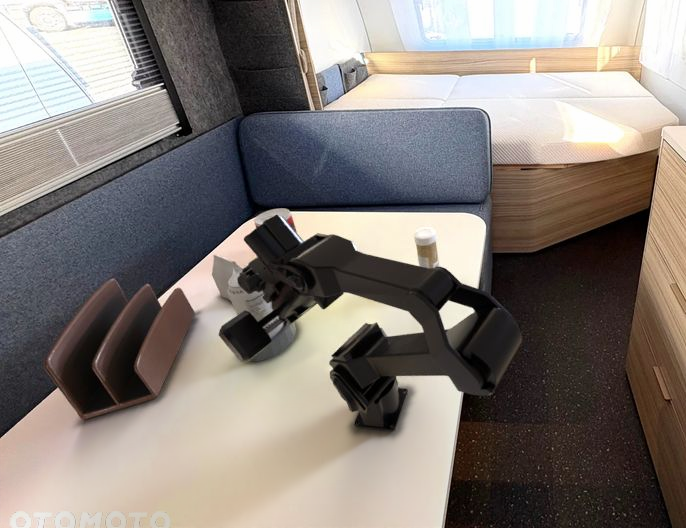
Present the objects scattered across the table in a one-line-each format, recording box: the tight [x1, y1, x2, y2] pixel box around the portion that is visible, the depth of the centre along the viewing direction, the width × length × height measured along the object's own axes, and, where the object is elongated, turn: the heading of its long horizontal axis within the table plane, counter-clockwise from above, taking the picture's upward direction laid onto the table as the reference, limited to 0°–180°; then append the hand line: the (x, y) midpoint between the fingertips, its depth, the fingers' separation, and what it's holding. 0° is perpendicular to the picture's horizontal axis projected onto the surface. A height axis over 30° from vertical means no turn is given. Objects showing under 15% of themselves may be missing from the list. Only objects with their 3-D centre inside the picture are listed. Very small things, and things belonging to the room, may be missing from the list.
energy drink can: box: [228, 271, 285, 339], centre depth 70 cm, size 6×6×15 cm
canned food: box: [253, 207, 298, 234], centre depth 96 cm, size 8×8×11 cm
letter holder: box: [43, 278, 196, 421], centre depth 67 cm, size 10×20×14 cm, turn 21°
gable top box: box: [211, 253, 243, 301], centre depth 83 cm, size 4×7×10 cm, turn 65°
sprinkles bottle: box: [413, 226, 440, 268], centre depth 84 cm, size 5×5×14 cm
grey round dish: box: [248, 320, 297, 362], centre depth 73 cm, size 9×9×4 cm
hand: (278, 317), depth 67 cm, fingers open, 9 cm apart
